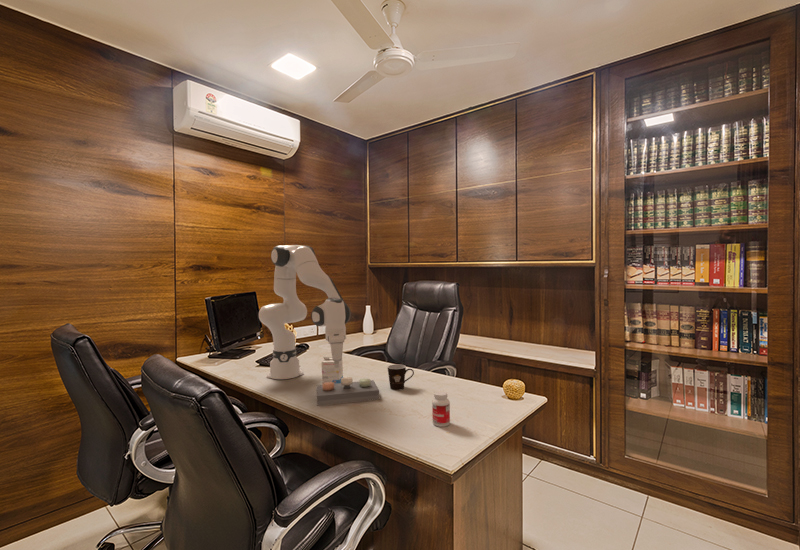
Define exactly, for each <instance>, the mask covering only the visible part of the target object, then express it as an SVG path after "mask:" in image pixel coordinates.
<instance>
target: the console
mask: <svg viewBox="0 0 800 550" xmlns="http://www.w3.org/2000/svg"><path fill="white" fill-rule="evenodd" d="M370 380H371V379H370ZM376 400H377V401H378V400H380V389H379V387H378V386H377V384H376V382H375V380H373V379H372V380H371V385H370V386H368V387H361V386H359V381H353V384H351V385H350V389H344V385H341V383H337V384H334V389H333V390H328V391H326V390H323V385H322V384H317V385H316V406H319V407H320V405H321V406H330V405H337V404H338V405H340V404H347V403H357V402H358V403H359V402H368V401H376Z"/></svg>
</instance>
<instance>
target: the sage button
mask: <svg viewBox="0 0 800 550" xmlns="http://www.w3.org/2000/svg"><path fill="white" fill-rule="evenodd" d="M358 382H359V386H361V387H368V386H370V385H371V379H370V378H361V379H359V380H358Z"/></svg>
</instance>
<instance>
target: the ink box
mask: <svg viewBox="0 0 800 550" xmlns="http://www.w3.org/2000/svg"><path fill="white" fill-rule="evenodd" d="M343 371H344V367H343V359H342V360H341V361H339V368H335V364H334V361H333V359H332V356H324V357H323V360H322V361H321V377H322V378H321V380H322V384H323V383H325V382H334V384H337V383H341V378H344V375H343V374H344V372H343ZM322 384H321V385H322Z"/></svg>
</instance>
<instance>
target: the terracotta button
mask: <svg viewBox="0 0 800 550" xmlns="http://www.w3.org/2000/svg"><path fill="white" fill-rule="evenodd" d="M321 385H323V390H326V391H328V390H333V389H334V382H325V383H323V384H321Z"/></svg>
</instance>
